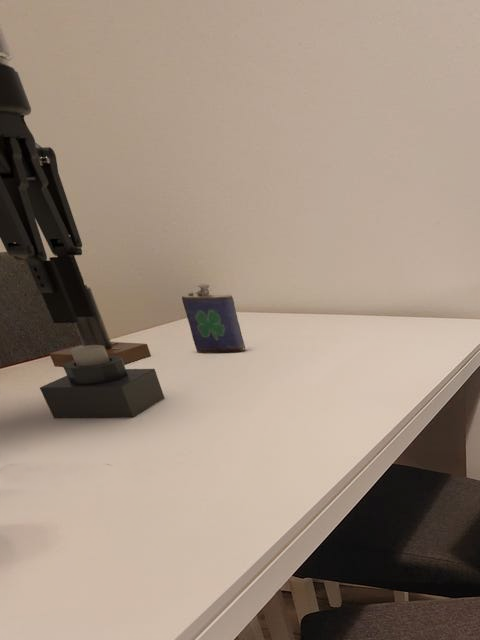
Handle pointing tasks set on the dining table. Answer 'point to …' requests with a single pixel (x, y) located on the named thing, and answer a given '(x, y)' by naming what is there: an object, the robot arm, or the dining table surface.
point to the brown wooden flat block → (120, 349)
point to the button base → (102, 391)
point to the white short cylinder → (90, 355)
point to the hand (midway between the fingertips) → (75, 318)
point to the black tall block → (93, 327)
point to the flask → (213, 321)
